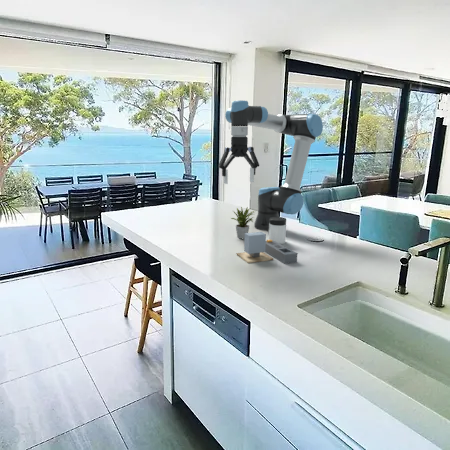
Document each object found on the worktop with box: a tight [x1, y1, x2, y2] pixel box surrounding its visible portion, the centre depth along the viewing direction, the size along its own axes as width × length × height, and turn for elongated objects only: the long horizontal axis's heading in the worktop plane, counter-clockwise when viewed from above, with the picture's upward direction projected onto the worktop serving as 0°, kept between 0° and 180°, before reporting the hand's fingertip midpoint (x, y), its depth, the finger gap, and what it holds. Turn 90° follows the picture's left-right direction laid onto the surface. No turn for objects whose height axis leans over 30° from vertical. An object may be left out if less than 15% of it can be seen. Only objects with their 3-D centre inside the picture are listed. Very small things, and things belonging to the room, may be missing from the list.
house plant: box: [230, 206, 256, 240], centre depth 191 cm, size 14×14×16 cm
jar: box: [268, 216, 287, 245], centre depth 185 cm, size 9×8×12 cm
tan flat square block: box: [235, 251, 274, 264], centre depth 164 cm, size 12×12×1 cm
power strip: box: [264, 239, 298, 265], centre depth 169 cm, size 28×6×5 cm, turn 22°
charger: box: [243, 231, 267, 258], centre depth 163 cm, size 4×8×10 cm, turn 112°
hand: (238, 182), depth 176 cm, fingers open, 13 cm apart
